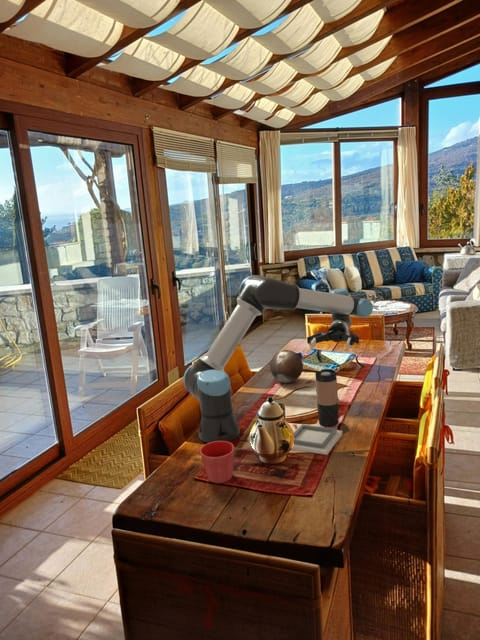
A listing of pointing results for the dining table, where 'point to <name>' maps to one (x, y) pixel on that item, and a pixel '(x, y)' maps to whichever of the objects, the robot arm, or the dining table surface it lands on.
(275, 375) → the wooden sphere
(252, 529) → the dining table surface
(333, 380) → the travel mug
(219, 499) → the dining table surface
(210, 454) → the flower pot
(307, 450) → the mug stand
